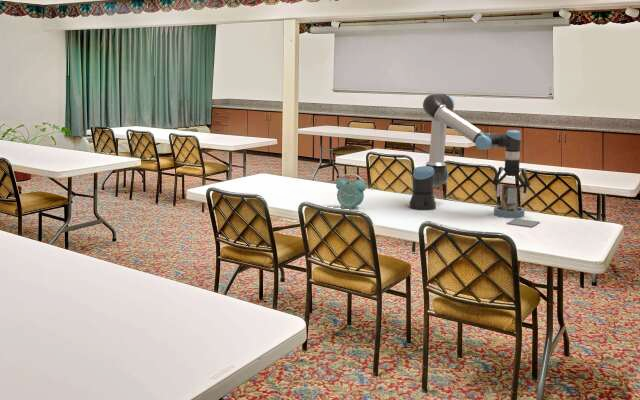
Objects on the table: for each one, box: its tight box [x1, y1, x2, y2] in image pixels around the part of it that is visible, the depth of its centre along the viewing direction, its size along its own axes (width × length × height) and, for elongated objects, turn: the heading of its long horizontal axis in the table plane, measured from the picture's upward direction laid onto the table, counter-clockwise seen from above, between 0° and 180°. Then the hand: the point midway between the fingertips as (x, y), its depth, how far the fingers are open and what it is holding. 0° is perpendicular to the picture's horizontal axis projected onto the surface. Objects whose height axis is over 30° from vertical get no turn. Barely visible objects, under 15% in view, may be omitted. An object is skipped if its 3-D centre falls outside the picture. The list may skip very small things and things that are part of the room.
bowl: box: [493, 205, 525, 219], centre depth 339 cm, size 16×16×4 cm
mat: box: [506, 218, 541, 229], centre depth 320 cm, size 13×13×1 cm
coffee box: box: [500, 184, 520, 211], centre depth 338 cm, size 9×6×16 cm
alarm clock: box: [335, 173, 367, 210], centre depth 354 cm, size 17×10×20 cm, turn 68°
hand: (510, 197), depth 337 cm, fingers open, 13 cm apart
